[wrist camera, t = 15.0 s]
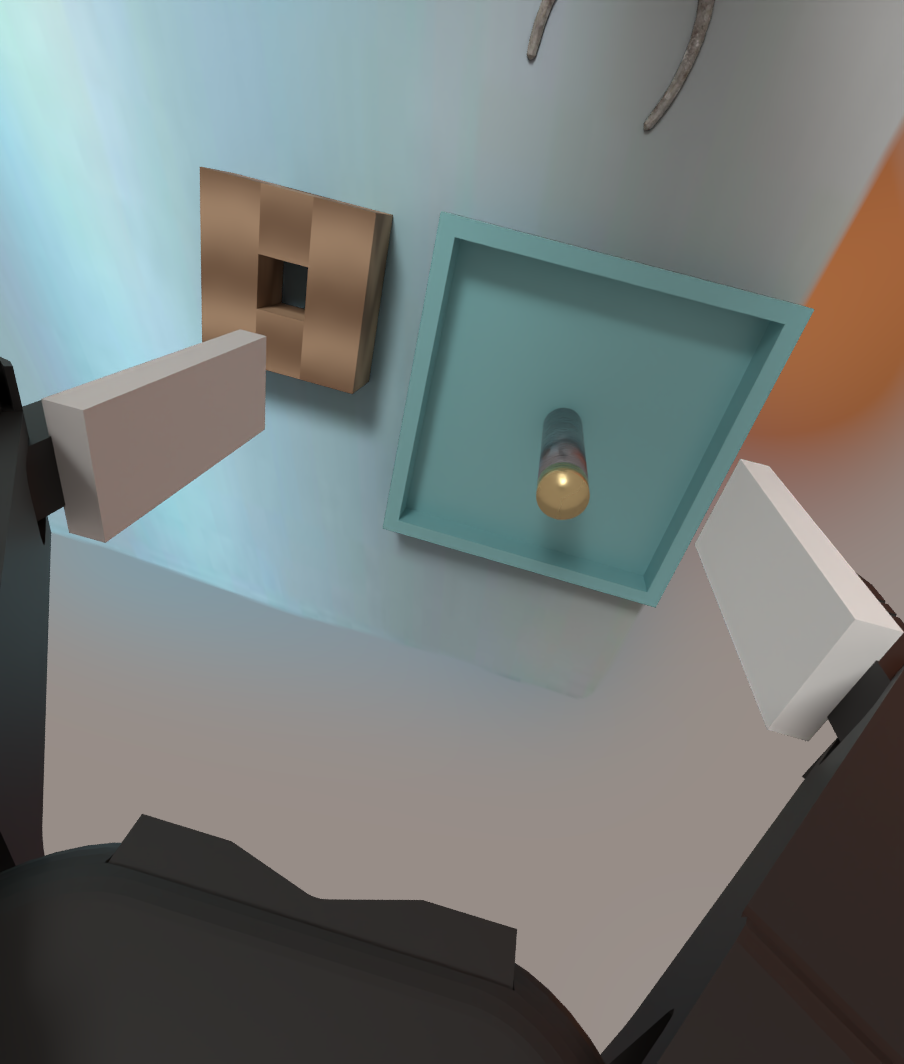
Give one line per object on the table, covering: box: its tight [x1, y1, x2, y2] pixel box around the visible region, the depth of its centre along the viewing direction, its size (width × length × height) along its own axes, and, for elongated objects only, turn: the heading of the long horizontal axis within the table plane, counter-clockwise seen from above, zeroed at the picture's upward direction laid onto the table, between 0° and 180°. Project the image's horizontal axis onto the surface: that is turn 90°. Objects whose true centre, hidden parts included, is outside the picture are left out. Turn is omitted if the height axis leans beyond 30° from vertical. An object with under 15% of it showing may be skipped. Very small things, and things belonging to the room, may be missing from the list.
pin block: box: [200, 167, 393, 394], centre depth 40 cm, size 12×12×4 cm
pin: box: [536, 408, 590, 520], centre depth 36 cm, size 3×3×13 cm
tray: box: [383, 212, 814, 607], centre depth 41 cm, size 24×24×4 cm
